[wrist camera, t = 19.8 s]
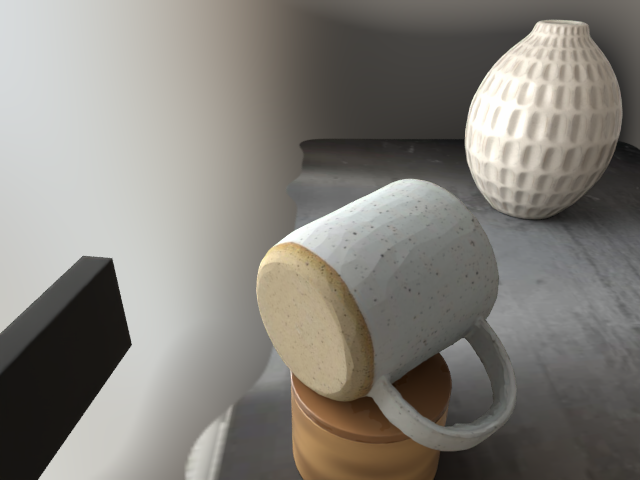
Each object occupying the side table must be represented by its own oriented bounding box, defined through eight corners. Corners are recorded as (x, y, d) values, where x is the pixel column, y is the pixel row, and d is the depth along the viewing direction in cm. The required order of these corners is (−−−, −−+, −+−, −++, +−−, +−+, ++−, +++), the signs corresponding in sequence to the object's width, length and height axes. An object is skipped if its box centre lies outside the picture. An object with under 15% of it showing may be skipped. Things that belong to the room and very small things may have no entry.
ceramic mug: (247, 351, 24) (237, 204, 20) (368, 286, 29) (378, 157, 25) (429, 516, 17) (465, 341, 13) (547, 394, 22) (599, 240, 18)
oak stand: (465, 493, 23) (483, 416, 21) (311, 531, 22) (311, 452, 19) (404, 381, 29) (412, 311, 27) (280, 404, 28) (277, 332, 25)
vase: (624, 218, 48) (688, 26, 40) (525, 249, 43) (575, 36, 34) (519, 173, 58) (553, 12, 50) (429, 193, 52) (450, 17, 44)
